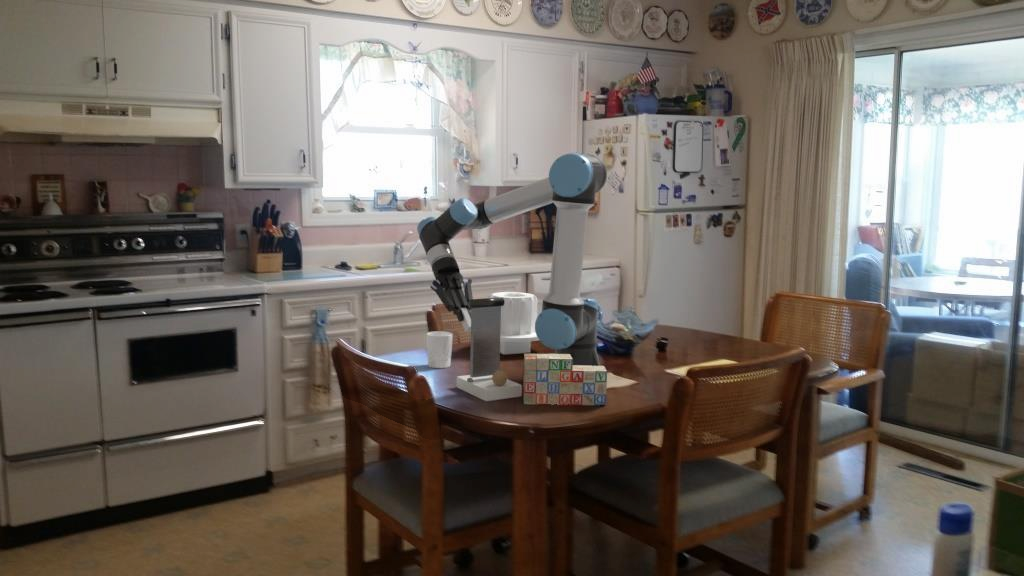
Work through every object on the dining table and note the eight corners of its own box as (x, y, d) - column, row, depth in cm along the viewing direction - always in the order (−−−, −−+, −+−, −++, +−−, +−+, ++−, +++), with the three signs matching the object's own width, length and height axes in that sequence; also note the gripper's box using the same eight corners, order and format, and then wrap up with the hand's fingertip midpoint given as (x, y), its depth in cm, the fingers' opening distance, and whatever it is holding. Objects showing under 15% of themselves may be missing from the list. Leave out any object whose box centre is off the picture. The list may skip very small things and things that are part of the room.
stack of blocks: (602, 399, 218) (604, 354, 217) (606, 406, 212) (608, 359, 210) (522, 398, 218) (523, 352, 216) (523, 404, 212) (524, 357, 210)
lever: (466, 376, 223) (468, 298, 220) (498, 372, 228) (500, 296, 225) (470, 378, 221) (472, 300, 218) (502, 374, 226) (504, 298, 223)
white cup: (448, 369, 247) (448, 336, 245) (422, 367, 248) (423, 335, 247) (455, 364, 254) (455, 332, 253) (430, 362, 256) (431, 330, 254)
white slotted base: (456, 387, 227) (457, 362, 226) (490, 382, 232) (491, 358, 232) (486, 401, 213) (486, 374, 212) (521, 396, 219) (522, 370, 218)
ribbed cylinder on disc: (528, 341, 292) (530, 288, 290) (561, 355, 270) (563, 298, 267) (463, 345, 282) (464, 291, 279) (491, 361, 260) (493, 301, 257)
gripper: (458, 270, 247) (484, 335, 235) (419, 272, 240) (444, 338, 228) (467, 254, 242) (494, 320, 230) (427, 255, 235) (453, 323, 223)
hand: (469, 329), depth 229 cm, fingers closed
